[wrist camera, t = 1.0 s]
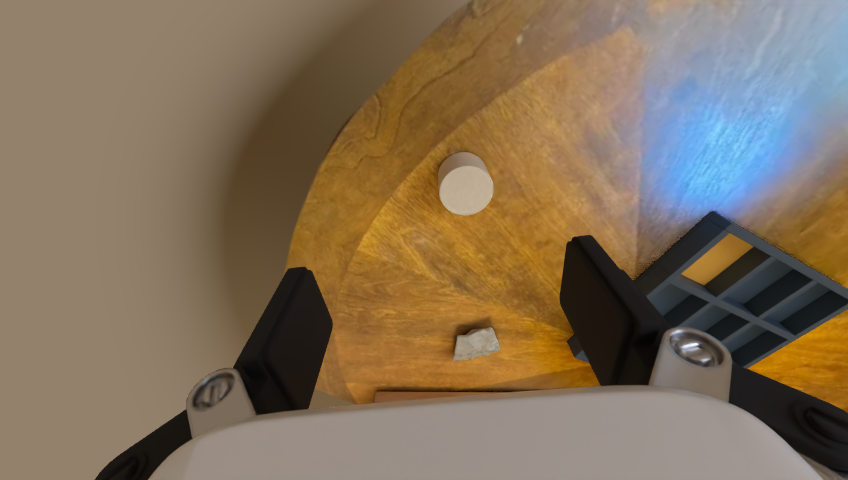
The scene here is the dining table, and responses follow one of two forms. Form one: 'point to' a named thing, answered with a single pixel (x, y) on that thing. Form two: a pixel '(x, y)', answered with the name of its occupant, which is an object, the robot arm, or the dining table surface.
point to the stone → (475, 344)
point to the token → (464, 184)
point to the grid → (737, 291)
